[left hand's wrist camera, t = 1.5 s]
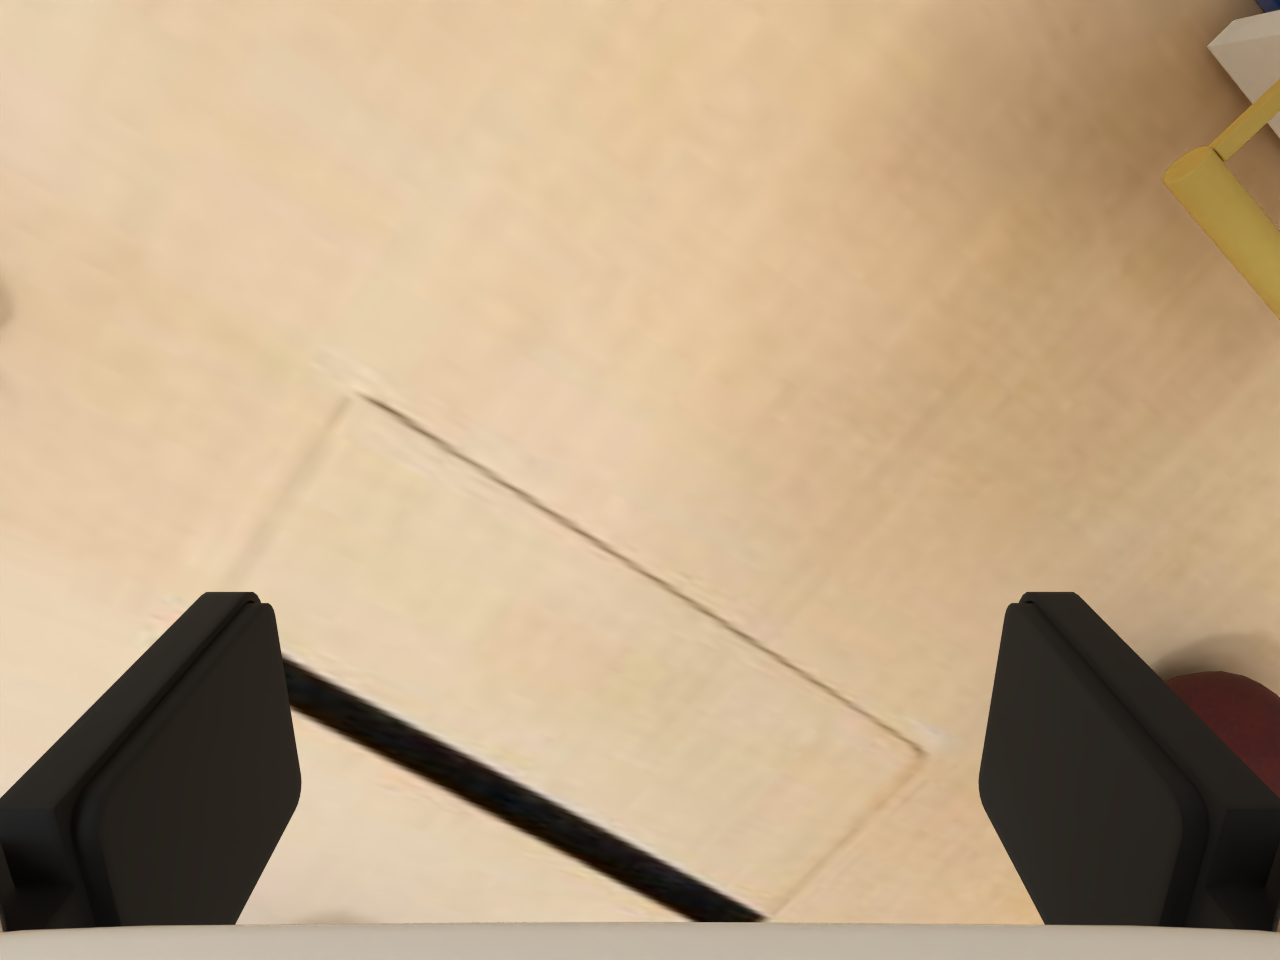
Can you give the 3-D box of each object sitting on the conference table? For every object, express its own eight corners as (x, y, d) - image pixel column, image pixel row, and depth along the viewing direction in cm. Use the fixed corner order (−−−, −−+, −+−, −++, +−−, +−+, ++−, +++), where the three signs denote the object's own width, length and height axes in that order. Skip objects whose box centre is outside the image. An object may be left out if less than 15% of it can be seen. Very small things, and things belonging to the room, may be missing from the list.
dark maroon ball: (1220, 782, 44) (1322, 893, 37) (1069, 762, 44) (1146, 871, 37) (1279, 654, 41) (1400, 750, 35) (1120, 633, 41) (1212, 725, 34)
